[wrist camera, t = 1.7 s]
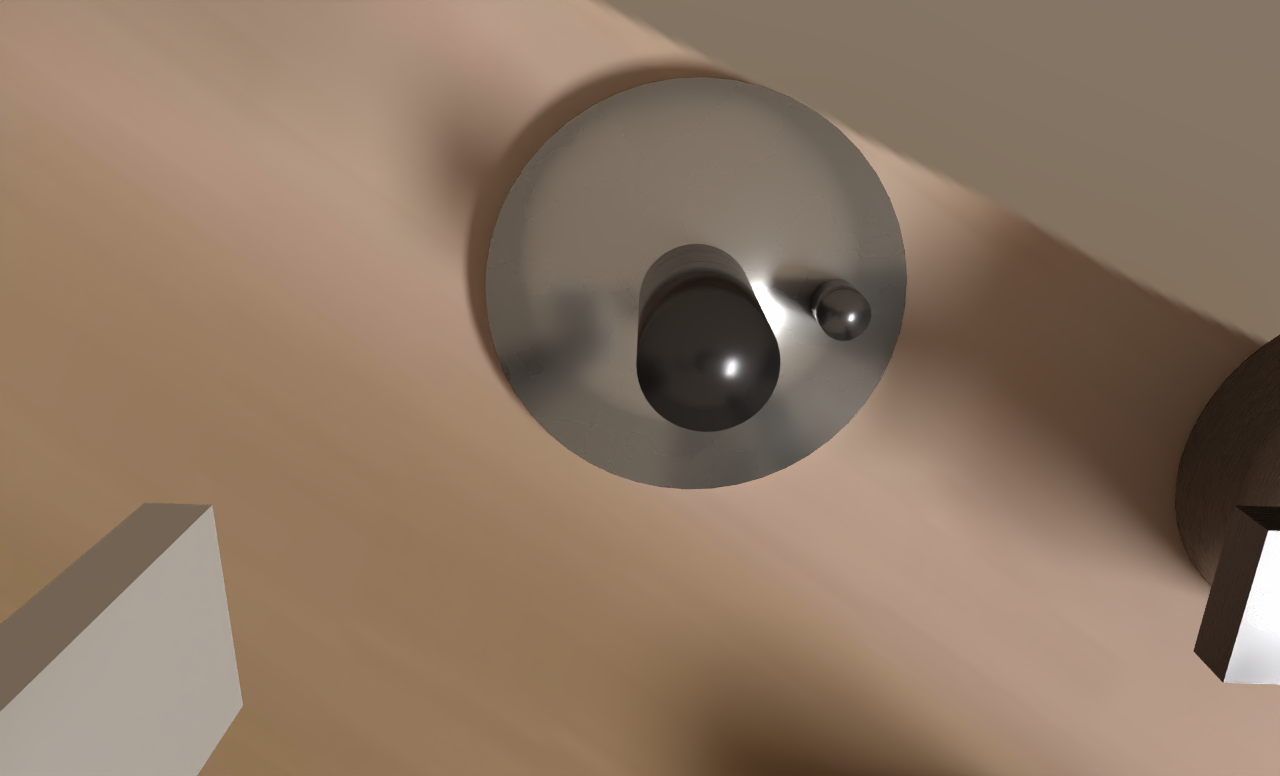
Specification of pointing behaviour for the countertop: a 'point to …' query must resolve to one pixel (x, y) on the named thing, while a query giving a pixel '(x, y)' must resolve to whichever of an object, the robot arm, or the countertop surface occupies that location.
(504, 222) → the lid
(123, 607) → the robot arm
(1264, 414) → the pot
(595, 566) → the countertop surface
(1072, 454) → the countertop surface
